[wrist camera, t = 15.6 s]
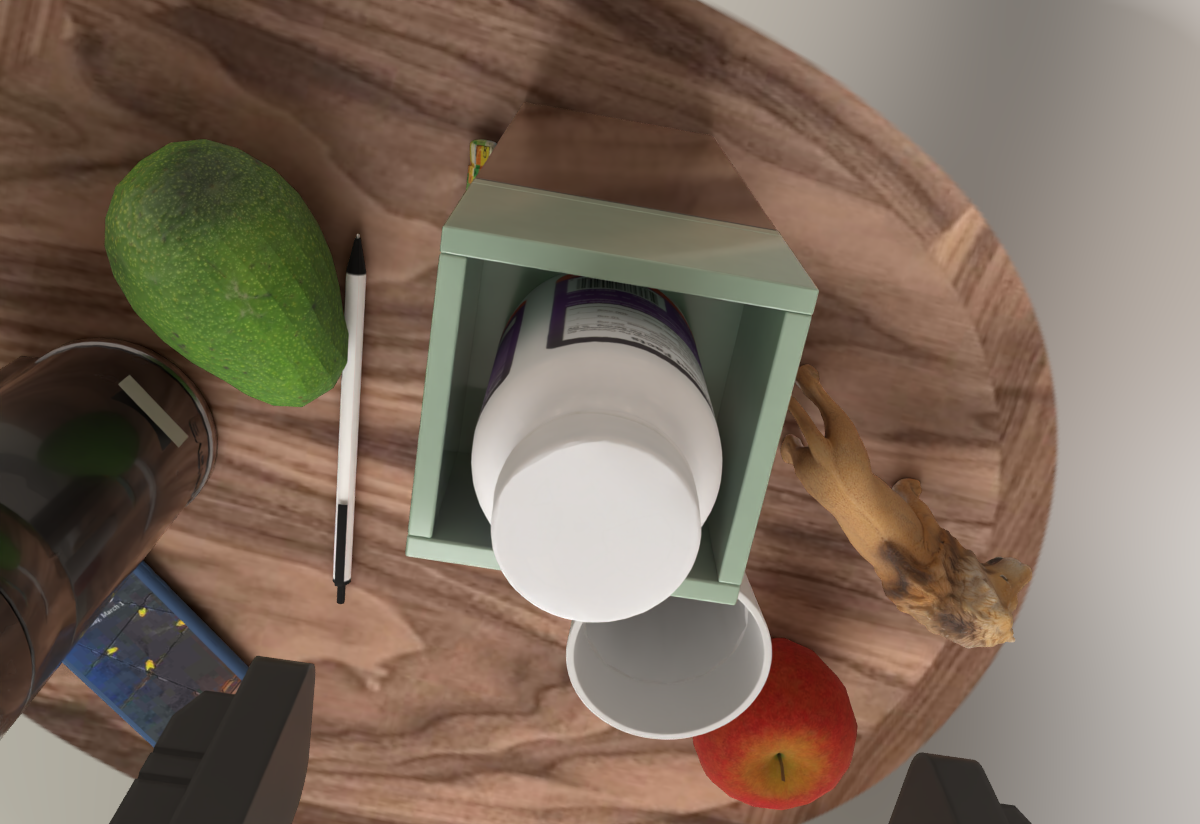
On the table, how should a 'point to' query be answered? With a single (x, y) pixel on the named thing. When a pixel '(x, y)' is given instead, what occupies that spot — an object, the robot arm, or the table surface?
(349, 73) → the table surface
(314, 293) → the fruit
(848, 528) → the lion figurine
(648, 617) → the cup
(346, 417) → the pen
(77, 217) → the table surface
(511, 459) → the pill bottle
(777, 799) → the apple
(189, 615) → the smartphone
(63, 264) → the table surface
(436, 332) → the green open-top box
